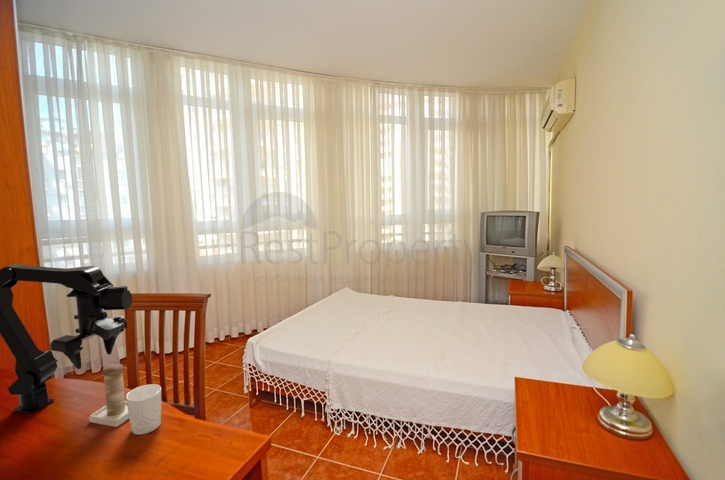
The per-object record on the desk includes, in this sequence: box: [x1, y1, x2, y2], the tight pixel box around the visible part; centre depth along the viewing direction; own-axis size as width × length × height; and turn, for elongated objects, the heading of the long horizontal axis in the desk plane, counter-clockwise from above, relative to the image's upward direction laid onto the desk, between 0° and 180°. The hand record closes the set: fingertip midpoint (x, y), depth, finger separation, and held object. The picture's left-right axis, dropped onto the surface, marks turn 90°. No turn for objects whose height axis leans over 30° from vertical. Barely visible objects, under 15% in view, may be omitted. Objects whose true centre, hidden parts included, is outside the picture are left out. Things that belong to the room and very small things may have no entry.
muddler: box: [102, 363, 126, 416], centre depth 96 cm, size 5×5×13 cm
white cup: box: [125, 383, 162, 436], centre depth 92 cm, size 8×8×10 cm
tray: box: [88, 400, 130, 428], centre depth 97 cm, size 9×8×2 cm
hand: (94, 361), depth 102 cm, fingers open, 9 cm apart
